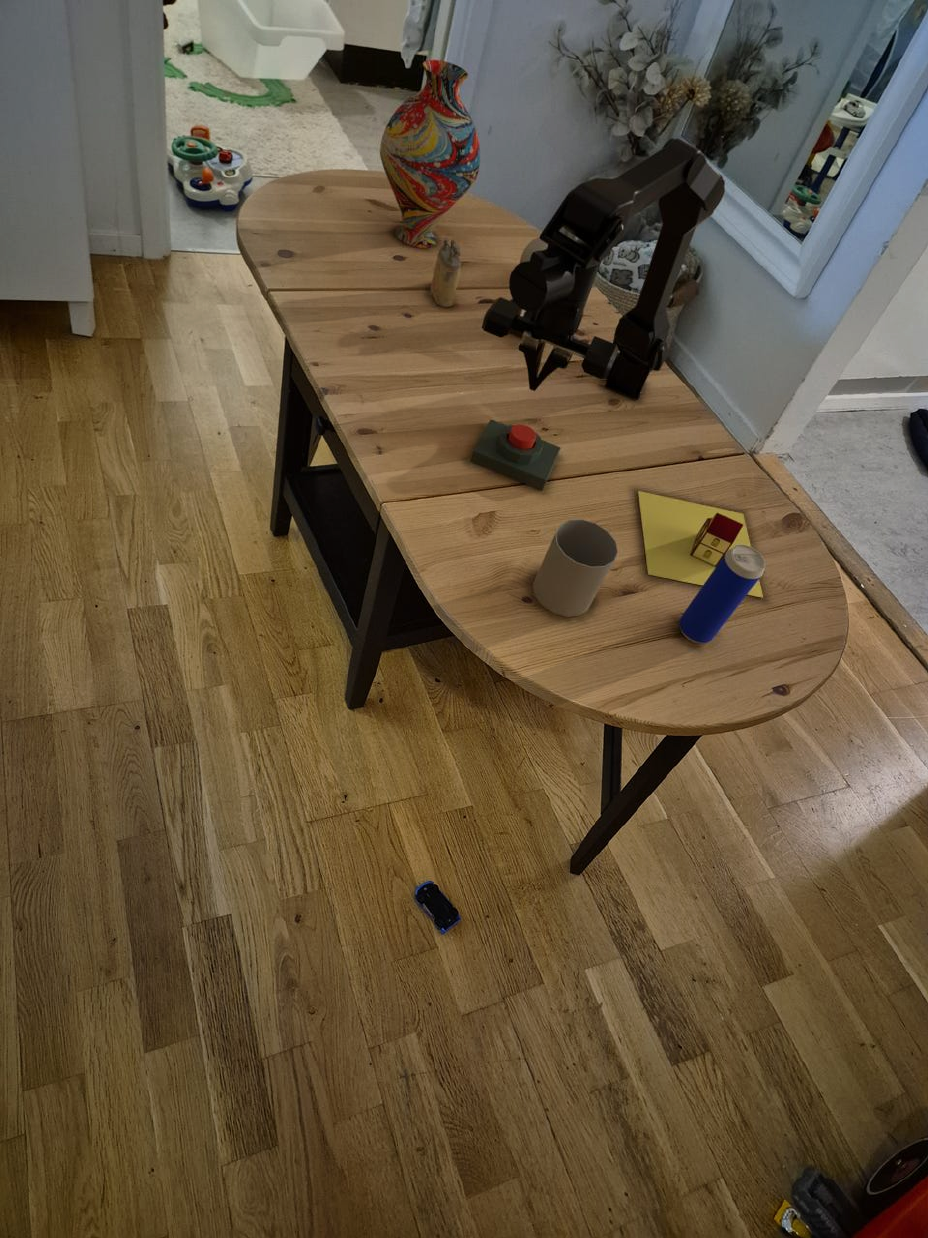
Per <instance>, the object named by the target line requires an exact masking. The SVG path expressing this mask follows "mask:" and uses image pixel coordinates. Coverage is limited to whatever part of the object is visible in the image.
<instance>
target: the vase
mask: <svg viewBox="0 0 928 1238" xmlns="http://www.w3.org/2000/svg"><path fill="white" fill-rule="evenodd" d="M422 66H423V69H424V72H425V75H426V80H425V84H424V86H423V88H422V89H420V90H419V91H418V92H416V93H415V94H413V95H412V96H410V97H408V98H407V99H406V100H405V101H403V102H402V103H401V105H400V106H398V108H396V110H395V111H394V112H393V114H392V115H391V116H390V118H389V120H388V122H387V124H386V126H385V128H384V131H383V133H382V136H381V141H380V146H379V157H380V160H381V164H382V168H383V170H384V173H385V175H386V178H387V181H388V183H389V185H390V188H391V190H392V193H393V195H394V198H395V201H396V202H397V206H398V208H399V211H400V214H401V219H402V226H399V227H398V228H397V229H396V230H395V235H396V238H398V240H400V241H401V242H403V243H404V244H406V245H408V246H411V247H415V248H420V249H421V248H422V249H426V248H431V247H434V246H435V245H437V237H436V236H435V235H434V233H433V230H434V229H435V227H436V225H437V224H438V222H440V220H441V219H442V218H443V217H444V216H445V215H446V214H447V213H448V212H449V211H450V210H451V209H452V207H453V206H455V204H456V203H458V201H459V200H460V199H462V197H464V195H466V193H467V192H468V191H469V190H470V188H471V187H472V186H473V185H474V184H475V182H476V180H477V179H478V175H479V171H480V164H481V148H480V141H479V136H478V133H477V129H476V126H475V123H474V121H473V119H472V117H471V116H470V113H469V111H468V110H467V108H466V107H465V105H464V104H463V101H462V100H461V97H460V89H461V86H462V85H463V83H464V82H465V81H466V80H467V79H468V77H469V74H468V72H467V71H466V70H465V69H464V68H462V67H461V66H459V65H457V64H455V63H453V62H449V61H445V60H440V59H427V60H424V61H423V63H422Z"/></svg>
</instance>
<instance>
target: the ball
mask: <svg viewBox="0 0 928 1238" xmlns="http://www.w3.org/2000/svg"><path fill="white" fill-rule="evenodd" d="M547 247H548V244H547V243H545V242H544V241H542V240H540V236H538V237H536V238H534V239H532V240H531V241H530V242H529V243H528V244H527V245H526V246H525V247H524V249H523V251H522V253H521V256H520V259H519V264H520V263H522V262H525V261H528V260H530V258H531V255H532V253H533V252H535V251H538V250H541V251H542V250H545V249H547Z"/></svg>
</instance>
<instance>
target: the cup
mask: <svg viewBox="0 0 928 1238" xmlns="http://www.w3.org/2000/svg"><path fill="white" fill-rule="evenodd" d="M618 553H619V548H618V544H617V541H616V539H615V538H614V536H612V535H611V533H610V532H609V530H607V529H605V528H604V527H602V526H601V525H599V524H598V523H596V522H593V521H590V520H587V519H583V518H580V519H579V518H578V519H568V520H566V521H564V522H562V523H560V524H559V525H558V527H557V529H556V531H555V533H554V535H553V537H552V540H551V542H550V544H549V547H548V549H547V551H546V553H545V555H544V558H543V559H542V562H541V564H540V566H539V569H538V571H537V574H536V576H535V578H534V580H533V583H532V590H533V594H534V597H535V598H536V600H537V601H538V602H539V604H540V605H541V606H542V607H543V608H545V609H546V610H547V611H549V612H551V614H555V615H558V616H562V617H565V618H568V617H569V618H570V617H580V616H581V615H582V614H584V613H585V612H588V611H589V609H590V607H591V605H592V603H593V601H594V600H595V598H596V596H597V594H598V592H599V591H600V588H601V586H602V585H603V583H604V581H605V579H606V577H607V576H608V574H609V572H610V570H611V568H612V566H613V565H614V563H615V560H616V559H617V557H618Z"/></svg>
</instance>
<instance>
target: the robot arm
mask: <svg viewBox="0 0 928 1238" xmlns="http://www.w3.org/2000/svg"><path fill="white" fill-rule="evenodd" d="M725 180H726V179H724V177H723V175H722V174H720V173H718V172H717V171H716V170H715V169H714V167H712V166H711V164H710V163H709V162H707V158H706V157H705V155H704V154H703V153H702V151H701V150H700V149H698V148H696V147H694V146H693V145H691V144H690V143H687V142H686V141H684V140H682V139H680V138H679V137H677V138H674V137H672V138H669V139H668V140H667V141H666V143H665V144H664V145H663V147H662V148H661V149H659V150H658V151H656V152H654V153H653V154H652V155H650V156H648V157H647V158H645V159H644V160H642V161H640V162H639V163H637V164H636V165H634V166H632V167H631V168H629V169H628V170H626V171H624V172H623V173H622V174H621V173H620V175H618V176H616V177H614V178H608V177H607V178H605V177H595V178H592V179H590V180H587V181H584V182H582V183H579V184H578V185H576V186H575V188H572V189H571V190H570V191H569V192H568V193H567V195H565V198H564V199H563V200H562V202H561V203H560V205H559V207H558V208H557V209H556V211H555V213H554V214H553V216H552V217H551V218H550V220H549V221H548V223H547V224H546V226H545V228H543V230H542V231H541V233H540V235H539V237H540V240H542V241H544V242H545V243H547V244H548V247H547V249H545V250H542V251H541V250H538V251H535V252H533V253H532V255H531V258H530V260H528V261H525V262H522V263H520V262H519V263H518V264H517V265H516V266H515V267H514V269H513V270H512V271H511V273H510V276H509V281H508V287H509V293H510V296H511V299H513V300H514V302H515V303H514V302H511V300H509V299H506V298H504V297H502V296H499V297H498V298H496V299H495V300H494V301H493V302H492V304H491V305H490V306H489V308H488V309H487V310H486V312H485V314H484V318H483V321H482V325H481V329H482V330H483V331H484V332H485V333H488V334H491V335H493V336H495V337H497V338H500V339H502V338H504V337H507V336H508V335H509V334H510V333H509V331H510V328H512V329H514V330H517V331H519V332H521V333H523V336H522V337H523V339H522V338H521V341H520V343H519V344H518V346H517V350H518V351H519V352H520V353H523V356H524V360H525V365H526V368H527V377H528V389H529V390H531V391H533V392H535V391H536V390H537V389H538V388H539V387H540V386H541V384H542V383H544V381H545V380H546V379H547V378H548V377H549V376H550V375H551V374H552V373H554V372H555V371H556V370H558V369H562V370H566V369H567V368H568V366H569V364H570V361H571V360H572V358H573V356H574V355H575V356H577V357H580V358H581V359H582V362H581V365H580V366H581V368H582V370H583V372H584V374H587V375H589V376H592V377H594V378H597V379H598V380H602V381H603V380H606V381H605V384H604V387H605V388H606V389H608V390H611V391H612V392H613V391H614V392H616V393H619V394H621V395H623V396H625V397H629V398H631V399H632V400H633V399H634V400H636V401H637V400H639V399H640V396H641V394H642V390H643V388H644V386H645V383H646V382H647V379H648V377H649V375H650V373H651V372H652V371H654V372H659V371H661V369H662V367H663V364H664V363H665V362H666V361H667V359H668V357H669V355H670V351H669V346H668V341H667V338H668V334H669V331H670V328H671V325H670V321H669V315H668V312H667V307H668V305H669V302H670V299H671V297H672V294H673V291H674V289H675V286H676V283H677V282H678V281H677V280H678V278H679V276H680V272H681V270H682V266H683V264H684V262H685V259H686V255H687V253H688V251H689V248H690V245H691V242H692V240H693V237H694V233H695V231H696V229H697V227H699V225H701V224H702V223H704V222H705V221H706V220H708V219H709V218H710V217H711V216H712V215H713V214H714V212H715V210H716V209H717V208H718V206H719V205H720V203H721V202H722V200H723V197H724V195H725V192H726V187H725V185H726V181H725ZM655 202H657V204H658V209H659V213H660V218H661V222H662V225H661V228H660V231H659V234H658V236H657V240H656V243H655V246H654V249H653V253H652V256H651V258H650V261H649V265H648V268H647V271H646V274H645V277H644V280H643V283H642V287H641V289H640V292H639V295H638V298H637V301H636V304H635V305H634V307H633V308H631V309H630V310H628V311H627V312H626V313H625V314H623V315H622V316H621V317H620V318H619V319H618V323H617V324H616V327H615V330H614V333H613V340H612V342H611V341H608V340H606V339H605V338H602V337H599V336H596V335H594V336H593V338H592V340H591V342H590V343H588V342H584V341H582V340H580V338H579V337H578V336H576V335H575V333H576V334H577V332H578V330H579V327H580V325H581V322H582V320H583V317H584V309H585V307H586V304H587V302H588V299H589V295H590V293H591V291H592V288H593V285H594V283H595V280H596V277H597V275H598V272H599V270H600V266H601V264H602V262H603V261H604V260H605V259H606V258H607V257H610V255H611V253H612V250H613V249H614V247H615V246H616V245H617V244H618V242H619V241H620V240H621V239H622V238H623V236H625V235H626V232H627V228H628V225H629V221H630V220H631V219H632V218H633V217H634V216H636V215H637V214H639V213H640V212H642V211H643V210H645V209H646V208H648V207H649V206H650V205H652V204H653V203H655ZM562 228H563V229H564V230H565V231H566V232H568V233H569V234H571V235H573V236H574V237H576V238H578V239H575V240H574V239H573V238H571V237H569V236H568V235H566V234H565V233H563V232H562V231H560V230H562ZM538 309H539V310H538ZM522 310H525V311H535V310H538V313H537V316H536V319H535V322H534V321H532V320H529V319H527V318H524V317H522V316H520V315H521V312H522ZM546 344H548V345H550V346H552V349H551V351H550V352H549V354H548V357H547V358H546V360H545V362H544V364H543V366H542V368H541V367H540V366H541V364H542V363H541V362H542V359H543V354H544V350H545V346H546ZM540 368H541V369H540Z"/></svg>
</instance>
